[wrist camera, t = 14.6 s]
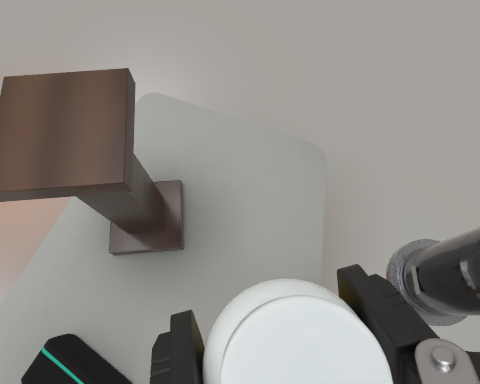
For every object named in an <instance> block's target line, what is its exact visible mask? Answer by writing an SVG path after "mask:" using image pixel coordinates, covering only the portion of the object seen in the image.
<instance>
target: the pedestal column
mask: <svg viewBox="0 0 480 384" xmlns="http://www.w3.org/2000/svg"><path fill="white" fill-rule="evenodd" d="M76 197H77V198H79V199H80V200H82V201H83V202H84V203H86V204H87V205H89V206H90V207H91V208H93V209H94V210H96V211H97V212H98V213H100V214H101V215H103V216H104V217H105V218H107V219H108V220H110V221H111V227H110V247H109V253H111V254H113V255H117V254H130V253H142V252H155V251H168V250H180V249H184V239H183V196H182V183H181V180H175V181H162V182H153V181H152V180H151V178H150V177H149V175H148V174H147V172H146V171H145V169H144V168H143V166H142V165H141V163H140V162H139V160H138V159H137V158H136V156H135V155H134V153H133V181H132V192H122V193H109V194H96V195H83V196H76Z"/></svg>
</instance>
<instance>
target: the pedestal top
mask: <svg viewBox="0 0 480 384" xmlns="http://www.w3.org/2000/svg"><path fill="white" fill-rule="evenodd" d="M134 113H135V82H134V80H133V77H132V75H131V73H130V71H129V69H128V68H124V69H109V70H95V71H81V72H66V73H53V74H38V75H24V76H9V77H4V79H3V85H2V90H1V96H0V202H4V201H17V200H30V199H44V198H57V197H70V196H83V195H96V194H109V193H122V192H132V181H133V147H134Z"/></svg>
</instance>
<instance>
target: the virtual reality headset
mask: <svg viewBox="0 0 480 384" xmlns="http://www.w3.org/2000/svg"><path fill="white" fill-rule="evenodd" d="M21 382H22V384H132V383H131V382H129V381H128V380H127V379H126V378H125V377H124V376H122V375H121V374H120V373H119V372H118V371H117V370H115V369H114V368H113V367H112V366H111V365H110V364H108V363H107V362H106V361H105V360H104V359H102V358H101V357H100V356H99V355H98V354H97V353H95V352H94V351H93V350H92V349H91V348H89V347H88V346H87V345H86V344H85V343H84V342H82V341H81V340H80V339H79V338H78V337H76V336H75V335H73V334H65V335H60V336H57V337H54V338H51V339H49V340H48V341H47V342H46V344H45V345H44V347H43V348H42V349H41V351H40V352H39V354H38V355H37V357H36V358H35V360H34V361H33V363H32V364H31V366H30V367H29V368H28V370H27V371H26V373H25V374H24V376H23V377H22V379H21Z"/></svg>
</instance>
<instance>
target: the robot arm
mask: <svg viewBox="0 0 480 384" xmlns="http://www.w3.org/2000/svg"><path fill="white" fill-rule="evenodd" d="M400 278H401V284H402V288H403V290H404V292H405V294H406V296H407V297H408V299H409V300H410V301H411V303H412V304H413V305H415V306H416V307H417V308H418V309H420V310H421V311H423V312H425V313H427V314H430V315H434V316H450V315H480V227H479V228H476V229H474V230H471V231H469V232H466V233H463V234H460V235H458V236H455V237H453V238H450V239H447V240H444V241H442V242H439V243H436V244H433V245H431V246H428V247H424V248H421V249H418V250H416V251H414V252H412V253H411V254H409V255H408V256H407V258H406V259H405V260H404V262H403V264H402V267H401V273H400ZM337 280H338V290H339V298H341V299H342V300H343V301H344V302H345V303H346V304H347V305H348V306H349V307H350V308H351V309H352V310H353V311H354V312H355V313H356V315H357V316H358V317H359V319H360V320H361V321H362V322H363V323H364V324H365V325H366V327H367V328H368V329H369V330H370V331H371V333H372V334H373V335H374V336H375V338H376V340H377V341H378V343H379V344H380V346H381V348H382V350H383V352H384V354H385V357H386V359H387V362H388V364H389V367H390V371H391V375H392V380H393V384H480V352H468V351H464V350H463V349H462V348H461V347H459V346H458V345H456V344H454V343H452V342H450V341H447V340H443V339H440V338H439V337H438V336H437V335H436V334H435V332H434V331H433V330H432V329H431V328H430V327H429V326H428V324H427V323H426V322H425V321H424V320H423V319H422V318H421V317H420V315H419V314H418V313H417V312H416V311H415V310H414V309H413V308H412V306H411V305H410V304H409V303H407V301H406V300H405V298H404V297H403V296H402V295H401V294H399V292H398V291H397V289H396V288H395V287H394V286H393V285H392V284H391V283H390V282H389V281H388V280H386V279H384V278H382V277H381V276H379V275H377V274H374V275H371V276H368V275H367V274H366V273H365V272H364V270H363V269H362V268H361V267H360V266H359V265H358V264H355V265H352V266H348V267H345V268H341V269H338V270H337ZM204 351H205V348H204V344H203V340H202V337H201V334H200V331H199V328H198V325H197V322H196V319H195V317H194V314H193V311H192V310H188V311H184V312H181V313H177V314H174V315H171V322H170V332H166V333H163V334H159V336H158V338H157V340H156V342H155V344H154V346H153V348H152V359H151V363H152V365H151V373H150V374H151V377H150V384H203V374H202V371H203V357H204Z"/></svg>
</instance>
